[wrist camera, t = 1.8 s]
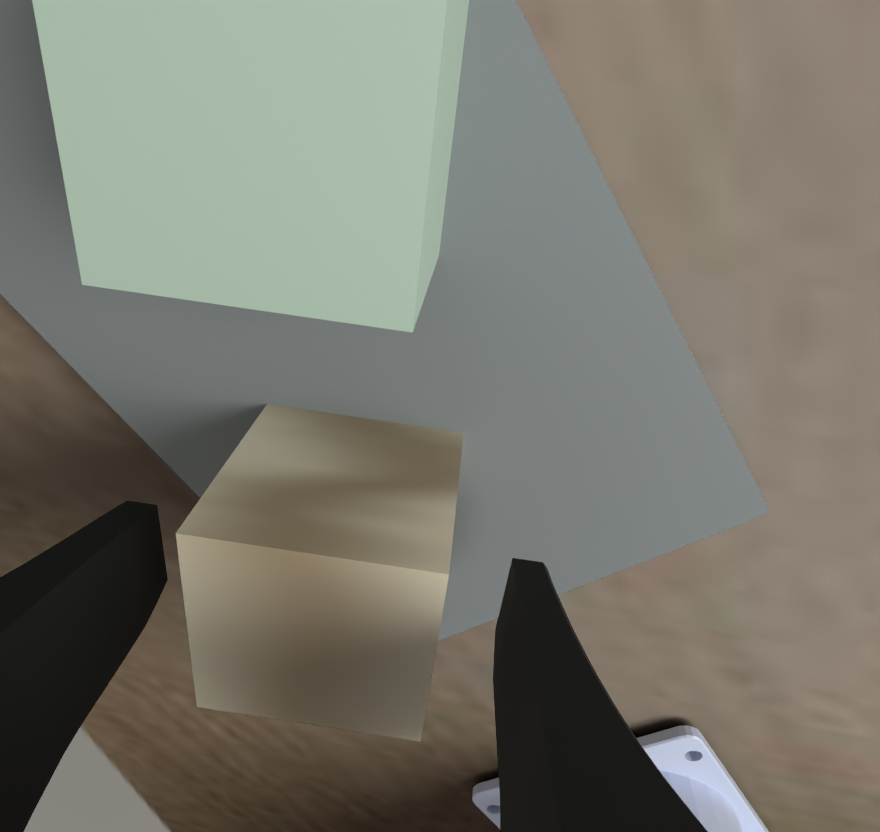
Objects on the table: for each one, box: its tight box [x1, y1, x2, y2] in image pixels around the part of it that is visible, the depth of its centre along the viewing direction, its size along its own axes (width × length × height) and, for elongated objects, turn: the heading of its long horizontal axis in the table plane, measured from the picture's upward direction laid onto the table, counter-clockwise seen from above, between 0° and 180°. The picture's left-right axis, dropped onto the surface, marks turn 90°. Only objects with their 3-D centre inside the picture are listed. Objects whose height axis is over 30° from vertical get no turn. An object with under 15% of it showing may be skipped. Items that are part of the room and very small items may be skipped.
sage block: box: [32, 0, 469, 333], centre depth 9 cm, size 4×4×4 cm
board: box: [0, 0, 771, 641], centre depth 13 cm, size 18×12×1 cm, turn 33°
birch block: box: [176, 404, 464, 742], centre depth 13 cm, size 4×4×4 cm
